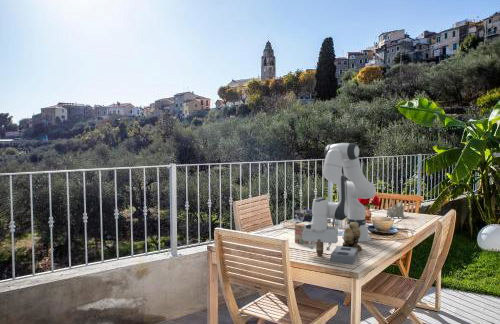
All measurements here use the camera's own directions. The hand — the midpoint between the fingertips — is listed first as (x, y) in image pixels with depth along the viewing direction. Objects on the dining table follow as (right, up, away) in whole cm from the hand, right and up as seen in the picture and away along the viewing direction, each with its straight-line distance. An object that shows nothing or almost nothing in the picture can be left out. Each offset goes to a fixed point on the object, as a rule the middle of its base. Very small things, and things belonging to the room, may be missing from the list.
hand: (319, 249), depth 228 cm
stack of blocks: (-1, -2, +37) cm, 37 cm away
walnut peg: (0, -4, 0) cm, 4 cm away
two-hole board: (+13, -4, -5) cm, 14 cm away
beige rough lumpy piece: (+21, -3, +13) cm, 25 cm away
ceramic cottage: (+87, +2, +120) cm, 148 cm away
